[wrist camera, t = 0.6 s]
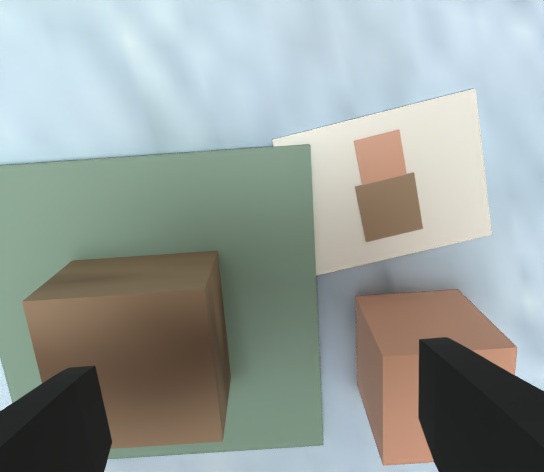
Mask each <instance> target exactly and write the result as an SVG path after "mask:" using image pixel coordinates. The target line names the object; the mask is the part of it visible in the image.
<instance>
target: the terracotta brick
mask: <svg viewBox="0 0 544 472" xmlns="http://www.w3.org/2000/svg"><path fill="white" fill-rule="evenodd" d="M355 300H356V355H357V386H358V389H359V392H360V395H361V398H362V402H363V405H364V408H365V411H366V414H367V417H368V420H369V423H370V427H371V430H372V433H373V436H374V439H375V442H376V445H377V448H378V452H379V455H380V458H381V461H382V464H383V465H398V464H413V463H429V462H434V460H433V458H432V455H431V452H430V450H429V447H428V444H427V441H426V439H425V436H424V433H423V430H422V427H421V424H420V421H419V418H418V398H419V339H428V338H441V337H448V338H450V339H452V340H454V341H456V342H458V343H460V344H461V345H463V346H465V347H467V348H468V349H470V350H472V351H474V352H475V353H477V354H479V355H480V356H482V357H484V358H486V359H487V360H489V361H491V362H492V363H494V364H496V365H498V366H499V367H501V368H503V369H504V370H506V371H508V372H510V373H511V374H513V375H515V366H516V356H517V347H516V346H515V345H514V344H513V343H512V342H511V341H510V340H509V339H508V338H507V337H506V336H505V335H504V334H503V333H502V332H501V331H500V330H499V329H498V328H497V327H496V326H495V325H494V324H493V323H492V322H491V321H490V320H489V319H488V318H487V317H486V316H485V315H484V314H483V313H482V312H481V311H479V310H478V309H477V308H476V307H475V306H474V305H473V304H472V303H471V302H470V301H469V300H468V299H467V298H466V297H465V296H464V295H463V294H462V293H461V292H460V291H459V290H458V289H454V290H439V291H425V292H410V293H395V294H381V295H366V296H355Z"/></svg>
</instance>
